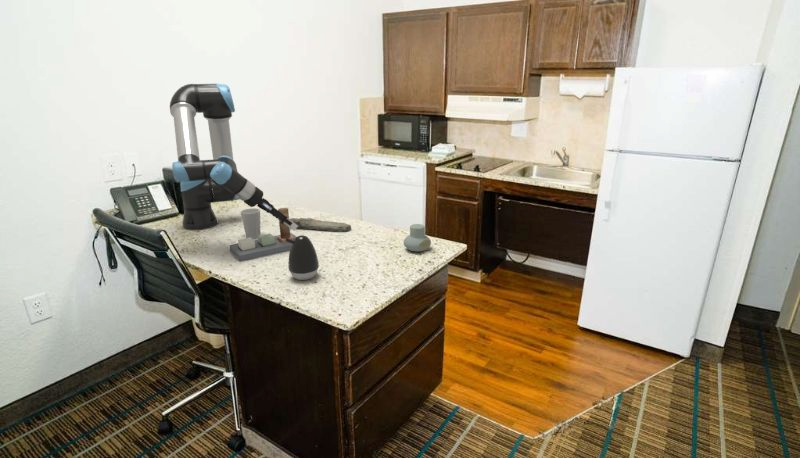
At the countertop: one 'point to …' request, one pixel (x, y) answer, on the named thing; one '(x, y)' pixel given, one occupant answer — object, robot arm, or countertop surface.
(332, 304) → the countertop surface
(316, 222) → the long grey stone
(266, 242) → the key mid
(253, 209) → the cup
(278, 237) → the key far
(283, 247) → the keypad
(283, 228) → the wooden pepper mill
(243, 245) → the key near
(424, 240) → the air freshener
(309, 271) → the black rounded cone
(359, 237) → the countertop surface
